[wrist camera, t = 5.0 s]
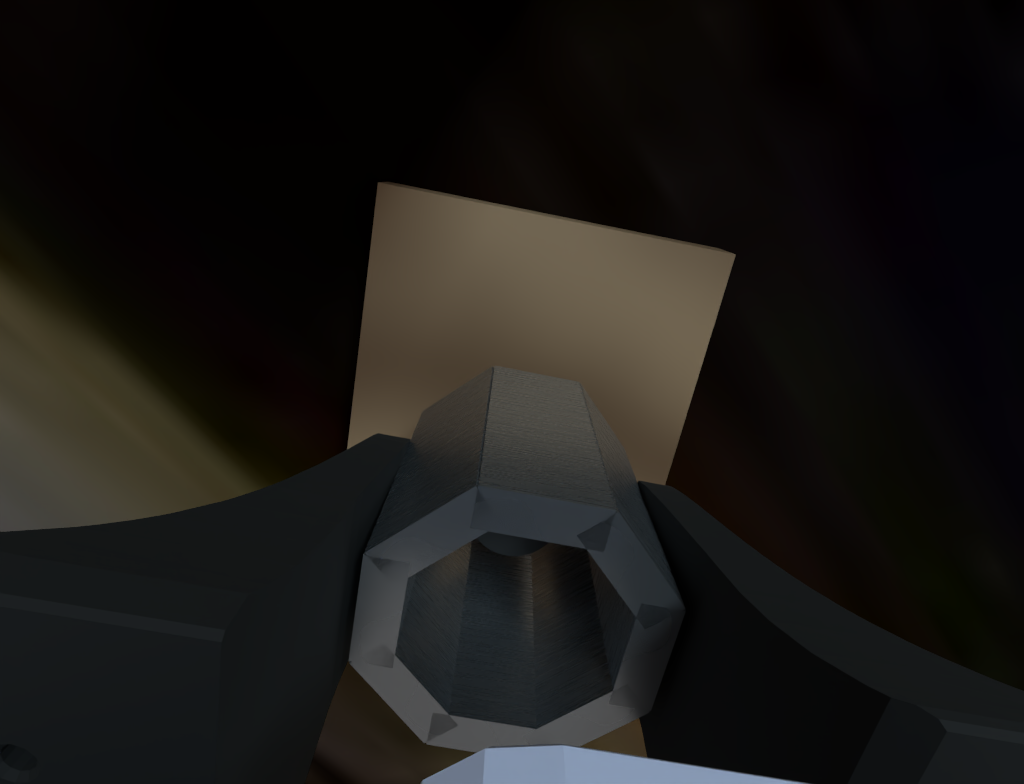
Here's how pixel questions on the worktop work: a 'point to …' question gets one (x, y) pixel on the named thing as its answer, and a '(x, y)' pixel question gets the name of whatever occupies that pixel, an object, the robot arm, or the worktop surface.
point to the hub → (515, 574)
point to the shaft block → (532, 318)
